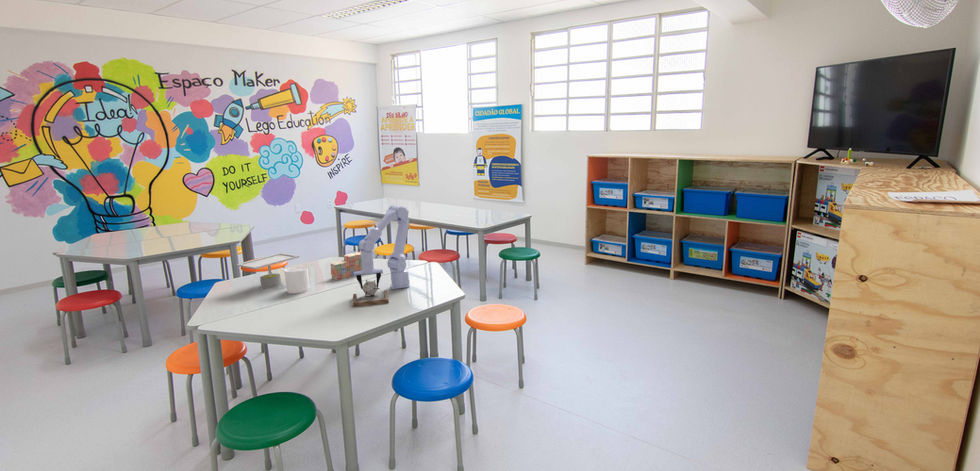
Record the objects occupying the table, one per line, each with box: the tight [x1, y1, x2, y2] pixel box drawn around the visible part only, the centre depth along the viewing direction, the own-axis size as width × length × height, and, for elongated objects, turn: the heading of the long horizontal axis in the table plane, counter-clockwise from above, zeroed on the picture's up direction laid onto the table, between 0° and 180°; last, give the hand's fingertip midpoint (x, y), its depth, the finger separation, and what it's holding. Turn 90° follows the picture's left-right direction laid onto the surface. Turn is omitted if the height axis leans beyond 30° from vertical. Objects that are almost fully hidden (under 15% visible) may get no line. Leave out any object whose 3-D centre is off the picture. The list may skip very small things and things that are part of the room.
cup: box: [283, 265, 311, 295], centre depth 270 cm, size 12×12×12 cm
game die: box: [360, 279, 381, 297], centre depth 257 cm, size 9×8×10 cm
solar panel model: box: [236, 252, 300, 289], centre depth 280 cm, size 28×17×15 cm, turn 148°
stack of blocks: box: [330, 251, 363, 281], centre depth 296 cm, size 21×6×12 cm, turn 137°
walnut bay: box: [352, 289, 390, 308], centre depth 250 cm, size 17×14×2 cm
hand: (369, 288), depth 259 cm, fingers open, 7 cm apart
